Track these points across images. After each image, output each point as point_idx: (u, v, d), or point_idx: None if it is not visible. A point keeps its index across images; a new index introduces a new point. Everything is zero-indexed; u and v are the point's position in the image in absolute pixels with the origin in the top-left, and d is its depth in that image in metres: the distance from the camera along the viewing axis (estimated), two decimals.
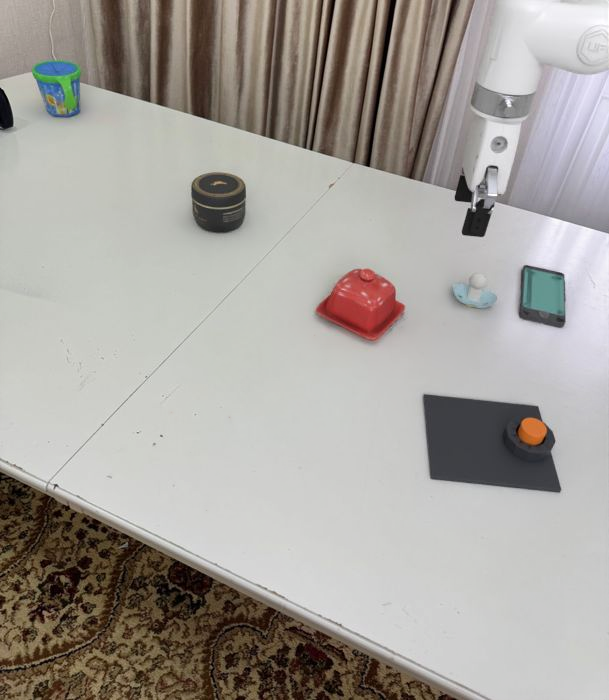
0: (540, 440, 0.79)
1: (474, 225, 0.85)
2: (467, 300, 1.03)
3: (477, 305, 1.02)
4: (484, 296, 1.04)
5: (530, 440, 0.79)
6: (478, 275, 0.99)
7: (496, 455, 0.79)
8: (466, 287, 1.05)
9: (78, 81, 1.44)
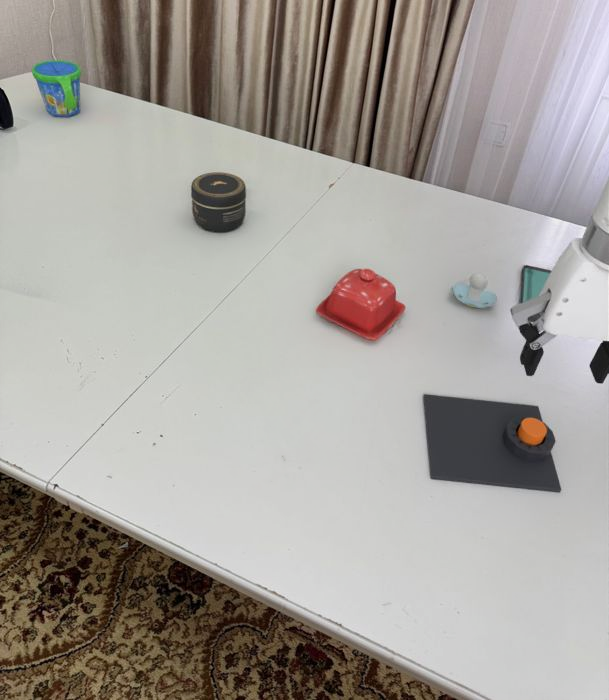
0: (540, 440, 0.79)
1: None
2: (467, 300, 1.03)
3: (477, 305, 1.02)
4: (484, 296, 1.04)
5: (530, 440, 0.79)
6: (478, 275, 0.99)
7: (496, 455, 0.79)
8: (466, 287, 1.05)
9: (78, 81, 1.44)
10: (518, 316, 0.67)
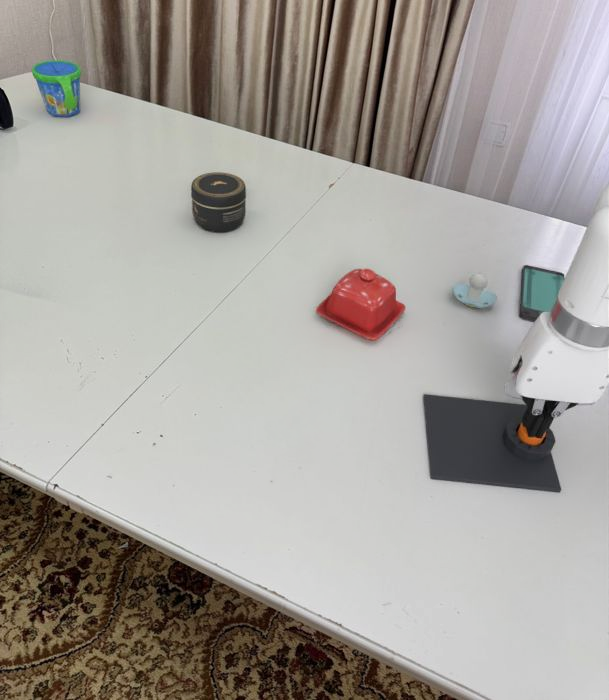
0: (539, 442, 0.79)
1: None
2: (467, 300, 1.03)
3: (477, 305, 1.02)
4: (484, 296, 1.04)
5: (529, 442, 0.79)
6: (478, 275, 0.99)
7: (496, 455, 0.79)
8: (466, 287, 1.05)
9: (78, 81, 1.44)
10: (512, 392, 0.74)
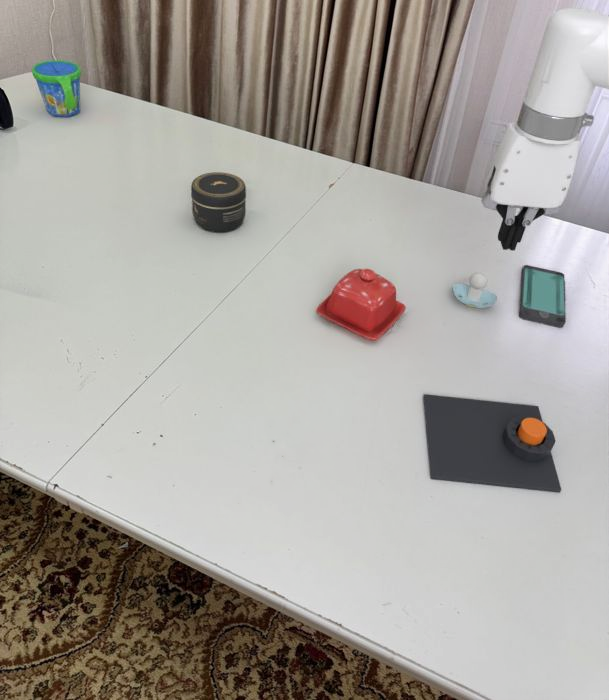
0: (540, 440, 0.79)
1: None
2: (467, 300, 1.03)
3: (477, 305, 1.02)
4: (484, 296, 1.04)
5: (530, 440, 0.79)
6: (478, 275, 0.99)
7: (496, 455, 0.79)
8: (466, 287, 1.05)
9: (78, 81, 1.44)
10: (488, 203, 0.85)
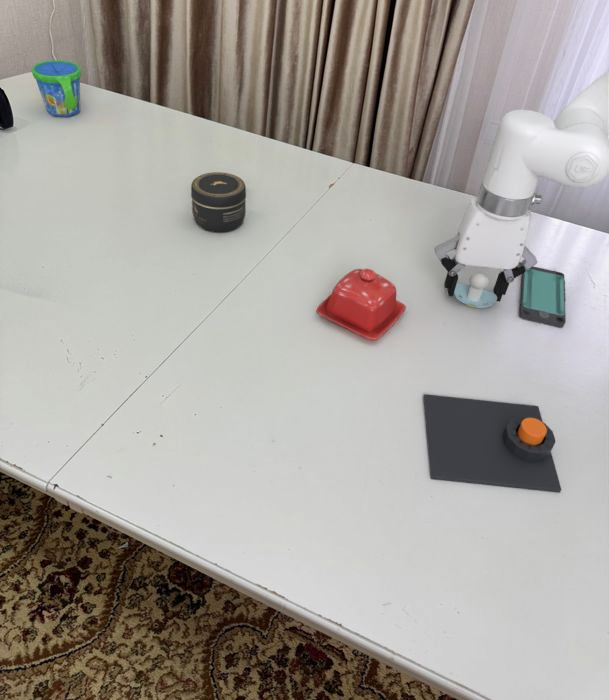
0: (540, 440, 0.79)
1: None
2: (467, 300, 1.03)
3: (477, 305, 1.02)
4: (484, 296, 1.04)
5: (530, 440, 0.79)
6: (478, 275, 0.99)
7: (496, 455, 0.79)
8: (466, 287, 1.05)
9: (78, 81, 1.44)
10: (439, 252, 0.98)
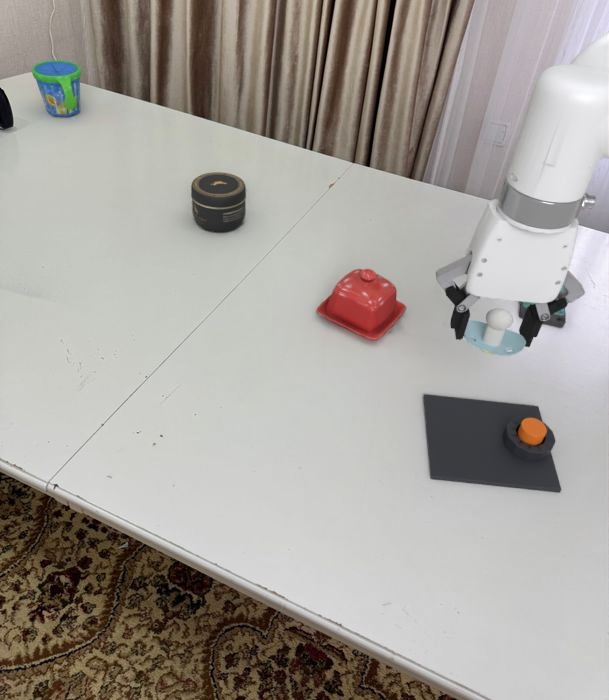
0: (540, 440, 0.79)
1: None
2: (483, 345, 0.73)
3: (497, 352, 0.72)
4: (507, 338, 0.73)
5: (530, 440, 0.79)
6: (499, 310, 0.69)
7: (496, 455, 0.79)
8: (481, 325, 0.75)
9: (78, 81, 1.44)
10: (443, 279, 0.68)
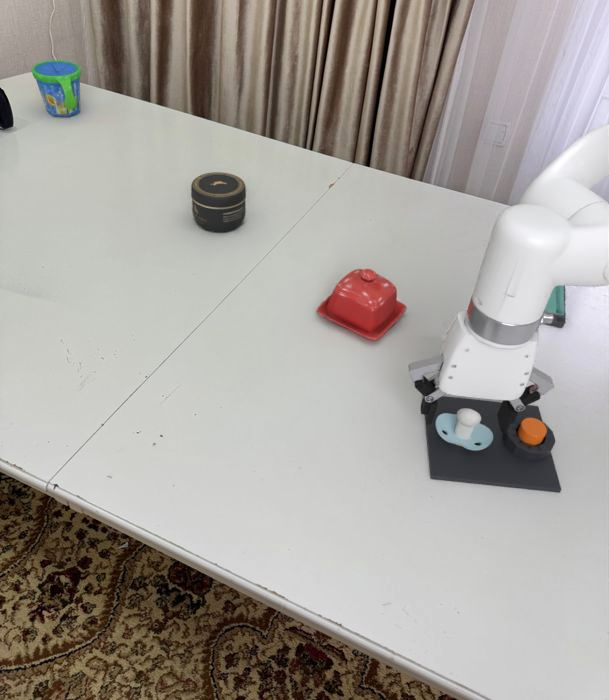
0: (540, 440, 0.79)
1: None
2: (454, 438, 0.79)
3: (467, 446, 0.78)
4: (476, 431, 0.80)
5: (530, 440, 0.79)
6: (468, 411, 0.76)
7: (496, 455, 0.79)
8: (453, 418, 0.81)
9: (78, 81, 1.44)
10: (414, 373, 0.74)
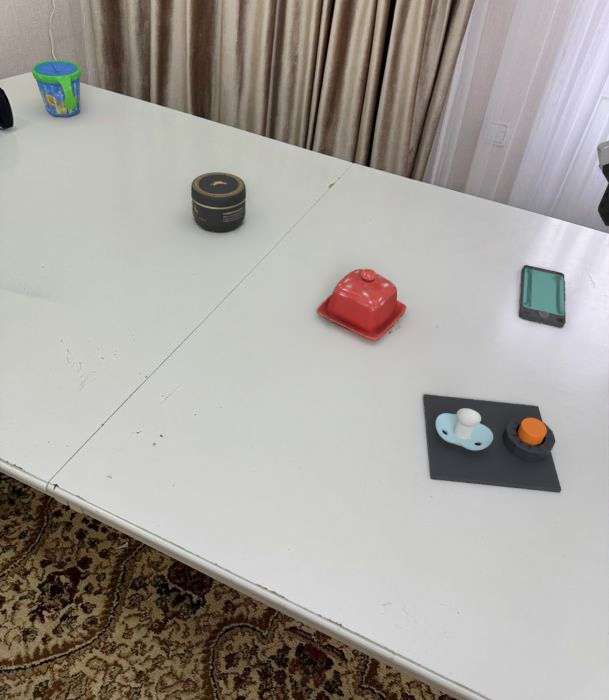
0: (540, 440, 0.79)
1: None
2: (454, 438, 0.79)
3: (467, 446, 0.78)
4: (476, 431, 0.80)
5: (530, 440, 0.79)
6: (468, 411, 0.76)
7: (496, 455, 0.79)
8: (453, 418, 0.81)
9: (78, 81, 1.44)
10: (607, 152, 0.64)
